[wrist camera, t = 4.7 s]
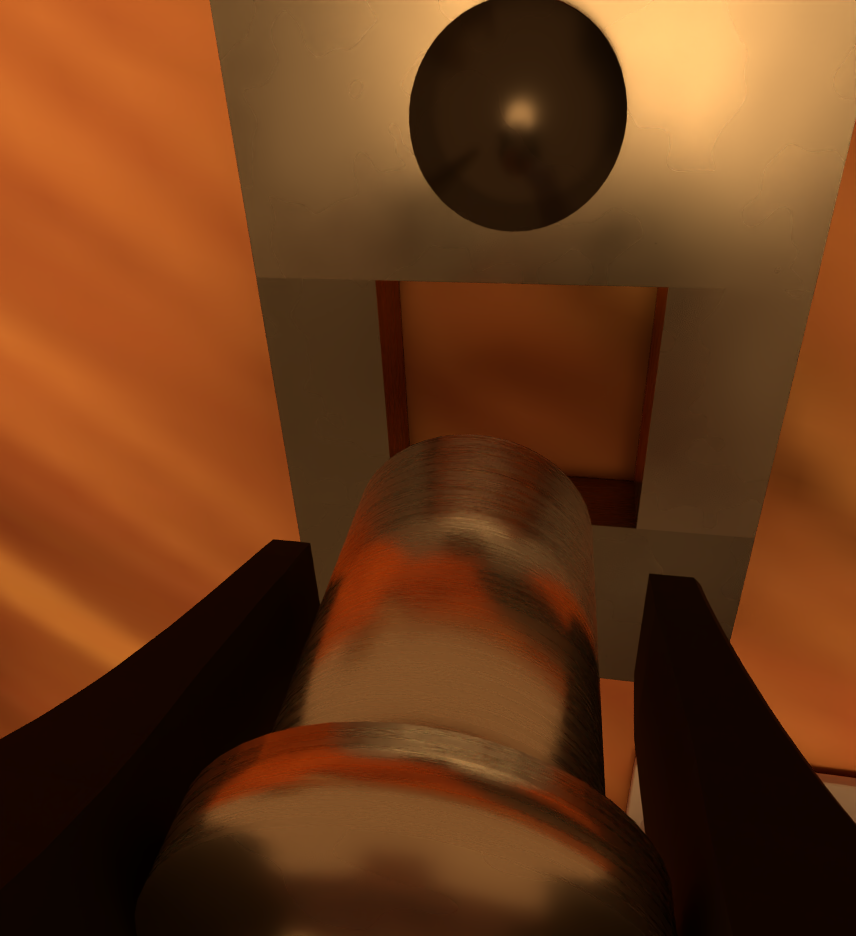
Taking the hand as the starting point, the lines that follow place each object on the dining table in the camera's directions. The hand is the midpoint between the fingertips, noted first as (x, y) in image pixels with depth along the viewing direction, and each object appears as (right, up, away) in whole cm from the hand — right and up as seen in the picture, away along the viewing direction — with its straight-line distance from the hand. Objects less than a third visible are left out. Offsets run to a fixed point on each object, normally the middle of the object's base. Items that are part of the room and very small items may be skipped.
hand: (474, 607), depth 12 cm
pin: (0, +1, +1) cm, 2 cm away
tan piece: (+2, +4, +7) cm, 8 cm away
